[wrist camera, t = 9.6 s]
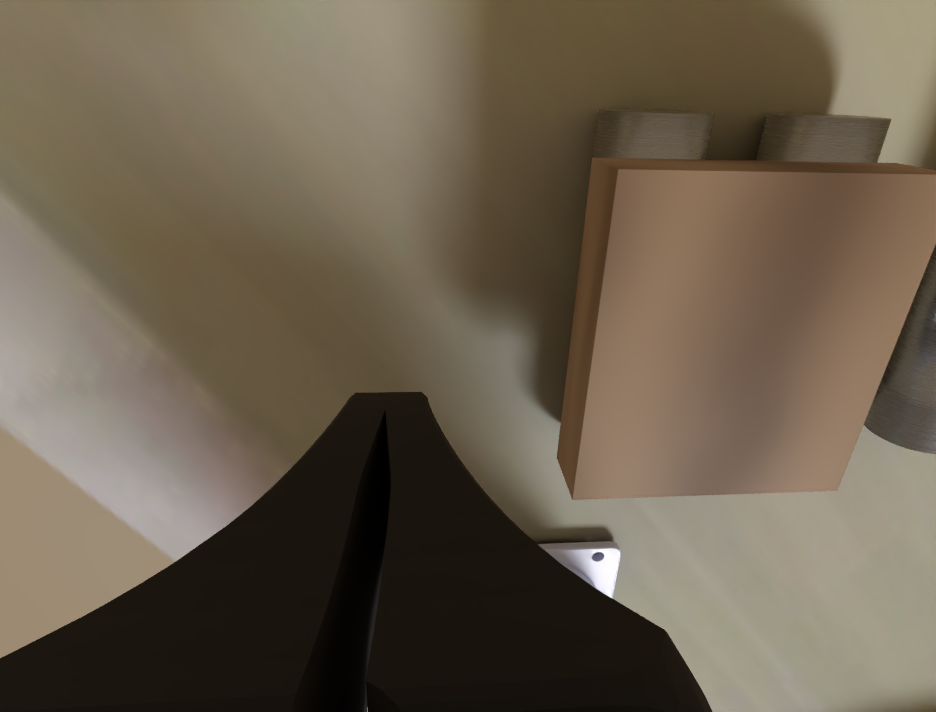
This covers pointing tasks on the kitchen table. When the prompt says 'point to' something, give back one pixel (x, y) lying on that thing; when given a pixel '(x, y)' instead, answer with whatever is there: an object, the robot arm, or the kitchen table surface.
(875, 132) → the middle roller
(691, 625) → the kitchen table surface
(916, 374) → the roller
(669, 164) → the slab
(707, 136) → the cylinder
